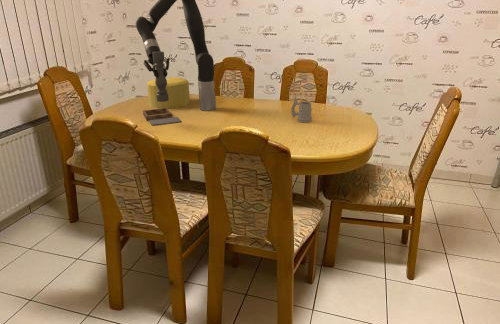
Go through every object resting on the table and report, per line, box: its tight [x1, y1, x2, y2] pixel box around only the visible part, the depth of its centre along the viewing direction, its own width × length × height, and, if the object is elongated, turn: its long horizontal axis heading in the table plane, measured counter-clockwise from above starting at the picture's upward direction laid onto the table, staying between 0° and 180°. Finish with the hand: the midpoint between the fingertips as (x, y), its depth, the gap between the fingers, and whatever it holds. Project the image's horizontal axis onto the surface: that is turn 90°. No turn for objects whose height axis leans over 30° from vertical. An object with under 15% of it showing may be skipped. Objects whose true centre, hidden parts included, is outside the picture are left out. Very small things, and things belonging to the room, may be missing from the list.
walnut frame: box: [142, 108, 173, 122], centre depth 216 cm, size 14×14×2 cm
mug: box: [290, 97, 313, 124], centre depth 202 cm, size 8×12×12 cm, turn 61°
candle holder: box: [152, 50, 169, 102], centre depth 197 cm, size 6×6×25 cm
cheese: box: [146, 76, 191, 109], centre depth 242 cm, size 26×26×15 cm
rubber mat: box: [148, 116, 182, 127], centre depth 206 cm, size 16×10×1 cm, turn 113°
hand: (161, 76), depth 195 cm, fingers closed on candle holder, 4 cm apart
